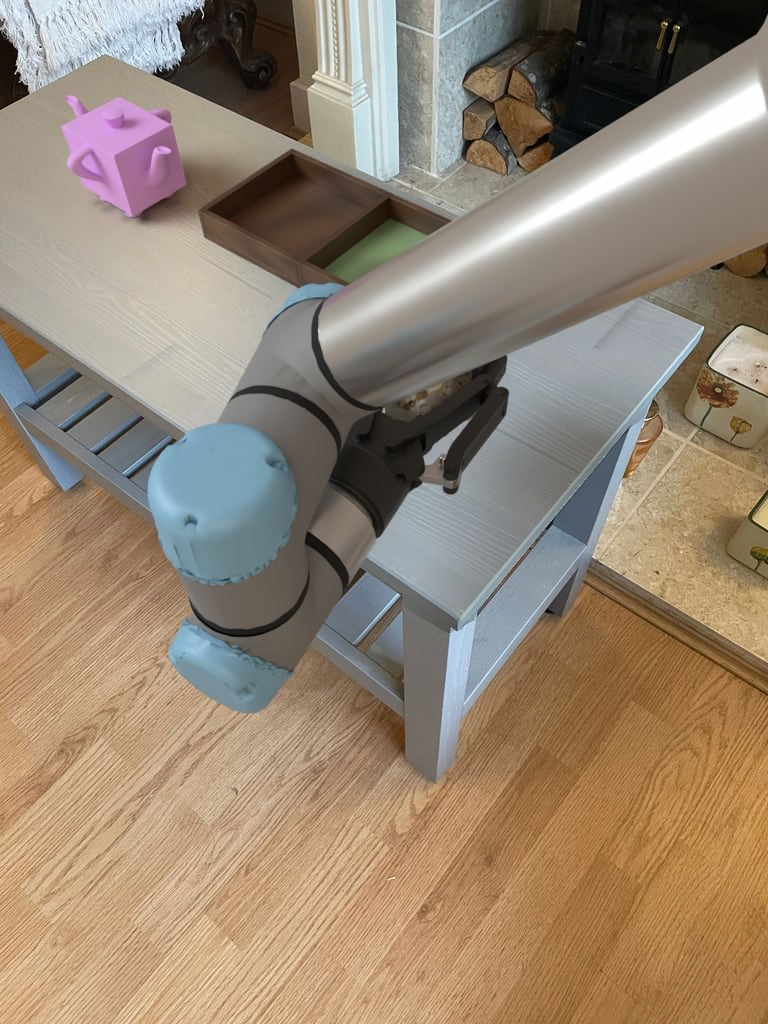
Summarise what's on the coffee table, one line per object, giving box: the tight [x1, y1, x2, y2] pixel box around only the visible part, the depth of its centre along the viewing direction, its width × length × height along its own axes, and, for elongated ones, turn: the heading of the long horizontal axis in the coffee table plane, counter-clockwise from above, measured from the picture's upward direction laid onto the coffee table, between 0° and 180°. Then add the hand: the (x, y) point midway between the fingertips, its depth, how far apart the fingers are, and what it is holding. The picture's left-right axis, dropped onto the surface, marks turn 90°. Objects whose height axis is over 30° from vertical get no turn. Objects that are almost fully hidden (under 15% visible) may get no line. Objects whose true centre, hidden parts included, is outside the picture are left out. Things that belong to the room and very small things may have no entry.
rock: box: [384, 370, 476, 444], centre depth 69 cm, size 12×7×10 cm, turn 145°
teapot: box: [61, 95, 187, 218], centre depth 100 cm, size 15×13×11 cm
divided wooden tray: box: [197, 148, 453, 289], centre depth 95 cm, size 32×17×4 cm, turn 51°
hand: (470, 319), depth 70 cm, fingers closed on rock, 6 cm apart
